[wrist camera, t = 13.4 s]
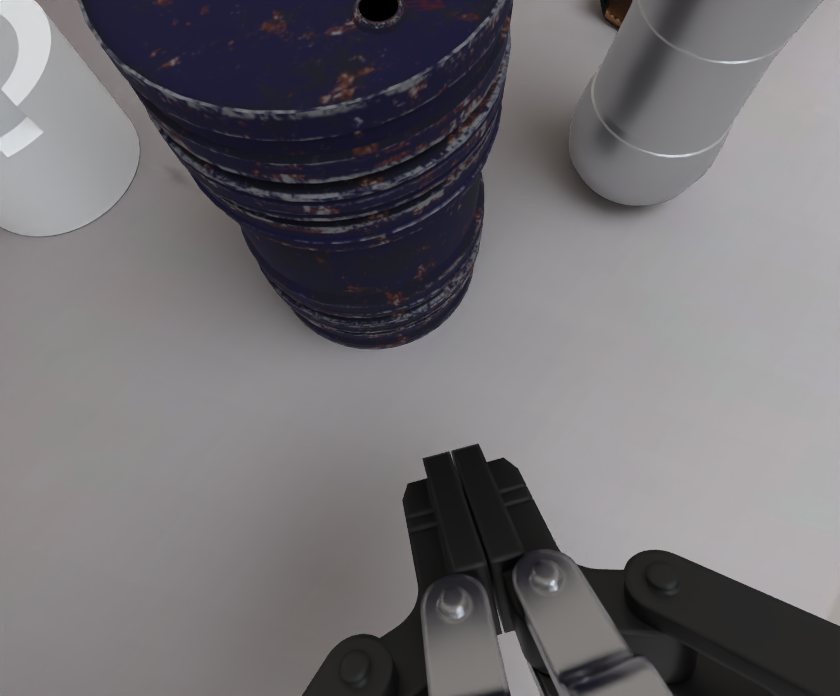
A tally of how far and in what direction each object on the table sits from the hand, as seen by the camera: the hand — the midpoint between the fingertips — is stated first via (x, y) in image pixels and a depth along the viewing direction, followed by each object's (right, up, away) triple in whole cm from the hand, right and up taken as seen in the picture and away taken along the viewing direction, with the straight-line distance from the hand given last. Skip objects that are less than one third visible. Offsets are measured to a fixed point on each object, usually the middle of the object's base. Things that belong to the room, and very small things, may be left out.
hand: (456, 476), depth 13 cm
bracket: (-24, +17, +16) cm, 33 cm away
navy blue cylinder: (-3, +8, +12) cm, 15 cm away
